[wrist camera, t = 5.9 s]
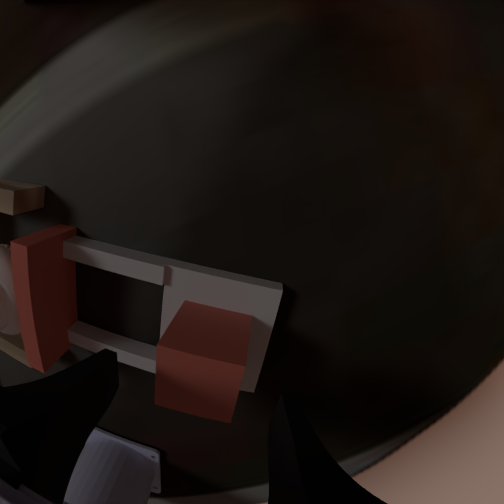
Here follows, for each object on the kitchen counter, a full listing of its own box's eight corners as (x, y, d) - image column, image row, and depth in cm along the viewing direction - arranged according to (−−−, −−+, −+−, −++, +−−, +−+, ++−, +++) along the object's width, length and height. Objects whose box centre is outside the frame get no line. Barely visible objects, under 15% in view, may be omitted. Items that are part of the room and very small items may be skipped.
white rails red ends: (253, 388, 18) (247, 452, 13) (64, 331, 18) (21, 371, 13) (284, 274, 16) (290, 325, 10) (60, 223, 16) (0, 244, 10)
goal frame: (52, 348, 18) (31, 368, 16) (-1, 319, 19) (-22, 334, 16) (45, 185, 15) (13, 191, 12) (-11, 177, 15) (-39, 181, 12)
